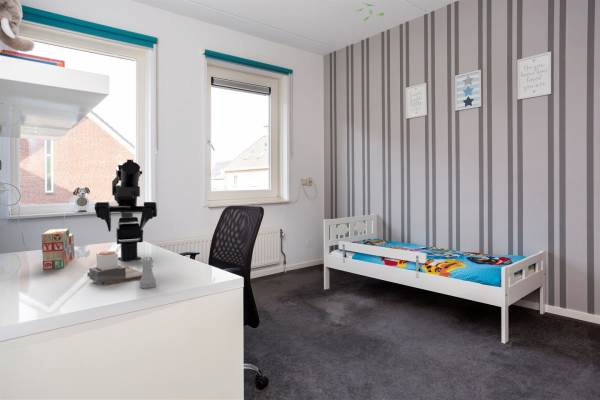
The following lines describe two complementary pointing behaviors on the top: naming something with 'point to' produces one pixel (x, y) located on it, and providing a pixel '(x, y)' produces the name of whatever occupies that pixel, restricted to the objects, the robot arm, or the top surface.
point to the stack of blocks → (57, 248)
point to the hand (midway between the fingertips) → (124, 230)
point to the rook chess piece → (147, 274)
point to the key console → (114, 275)
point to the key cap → (107, 260)
